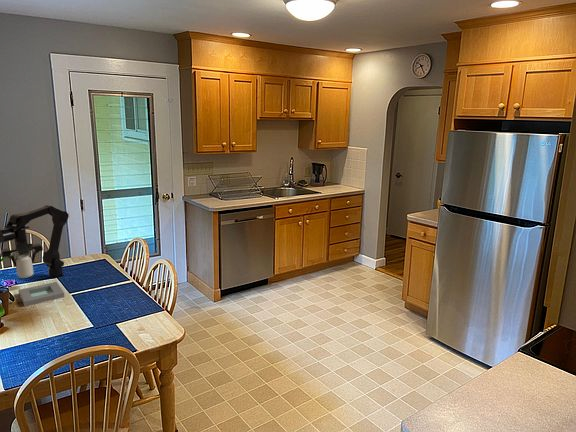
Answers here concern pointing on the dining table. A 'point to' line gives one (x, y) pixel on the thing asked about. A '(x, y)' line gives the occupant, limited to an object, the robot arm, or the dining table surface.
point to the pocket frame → (41, 293)
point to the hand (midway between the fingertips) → (24, 265)
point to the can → (24, 266)
